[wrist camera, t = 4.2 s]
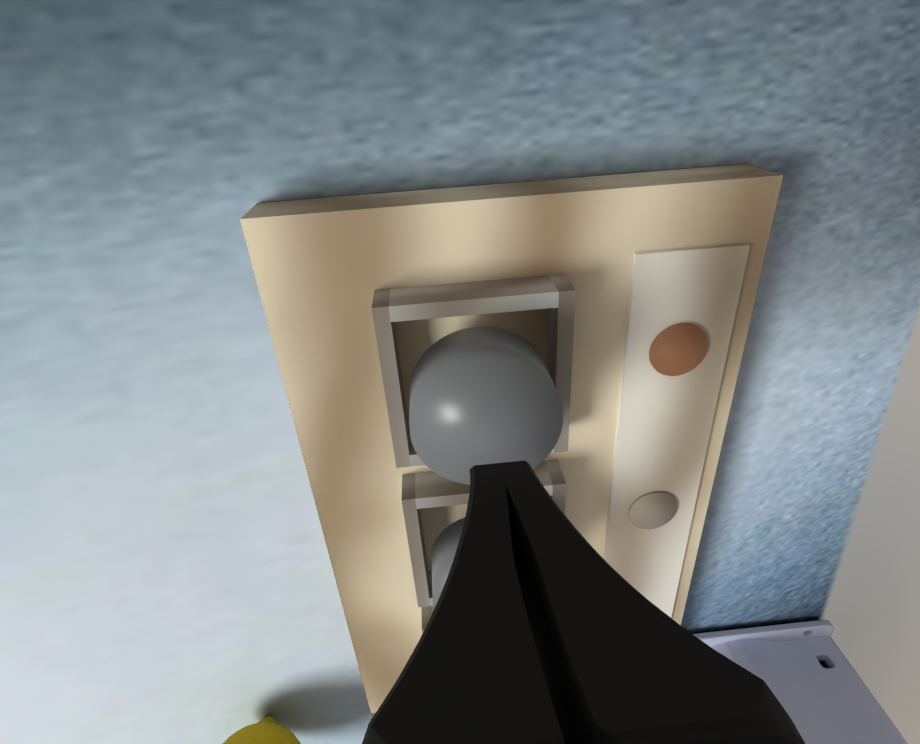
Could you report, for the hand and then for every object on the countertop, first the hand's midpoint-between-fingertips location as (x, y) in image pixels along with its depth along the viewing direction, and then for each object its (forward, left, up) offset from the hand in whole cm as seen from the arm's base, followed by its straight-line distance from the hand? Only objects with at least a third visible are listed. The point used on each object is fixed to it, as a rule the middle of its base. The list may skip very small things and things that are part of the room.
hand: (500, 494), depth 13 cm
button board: (-2, +8, -8) cm, 11 cm away
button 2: (0, 0, -5) cm, 5 cm away
